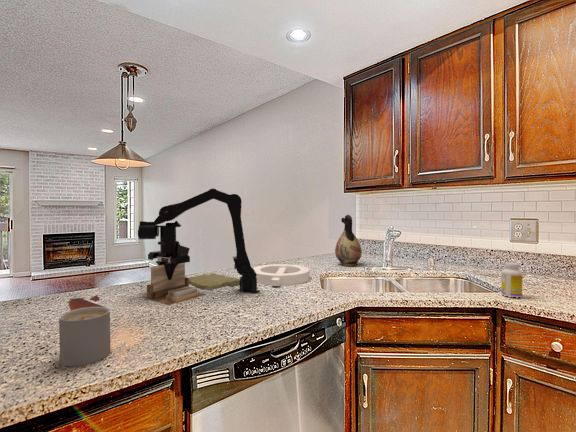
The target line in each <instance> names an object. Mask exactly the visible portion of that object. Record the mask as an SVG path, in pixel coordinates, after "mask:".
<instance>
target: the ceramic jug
mask: <svg viewBox="0 0 576 432" xmlns="http://www.w3.org/2000/svg"><path fill="white" fill-rule="evenodd" d="M340 220H341V223H342V224H344V229H343V231H342V233H341V234H340V236H339V238H338V240H337V242H336V245H335V249H334V252H335V258H336V259H337V260H338V261H339V263H340V265H341V266H342V267H343V266H345V267H354V266H357V265H358V264H357V263H358V262H359V261H360V259H361V257H362V253H363V252H362V247H361V244H360V242H359V240H358V238H357V237H356V235H355V234H354V233H353V218H352V216H351V215H350V214H346V215H345V216H344V217H342V218H341V219H340Z"/></svg>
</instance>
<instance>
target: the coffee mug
mask: <svg viewBox="0 0 576 432" xmlns="http://www.w3.org/2000/svg"><path fill="white" fill-rule="evenodd" d="M110 312H111V310H110V308H108V307H106V306H103V307H87V308H80V309H76V310H69V311H66V312H64V313H62V314H61V315H59V317H58V319H59V320H58V324H59V326H58V327H59V330H58V331H59V363H60V365H61V366H64V367H65V366H66V367H80V366H87V365H91V364H94V363H97V362H100V361H102V360H103V359H105V358H106V357H108V356H109V355H110V354H111V313H110Z"/></svg>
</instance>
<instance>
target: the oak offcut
mask: <svg viewBox="0 0 576 432" xmlns="http://www.w3.org/2000/svg"><path fill="white" fill-rule="evenodd" d="M197 296H199V291H197V292H196V293H192V294H189V295H185V296H181V297H173V296H169V295H166V300H169V301H173V302H178V303H181V302H180V301H182V302H184V301H183V300H185V301H188V300H187V299H189V300H191V299H190V298H192V299H195V298H194V297H196V298H198V297H197ZM199 297H200V296H199Z"/></svg>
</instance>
